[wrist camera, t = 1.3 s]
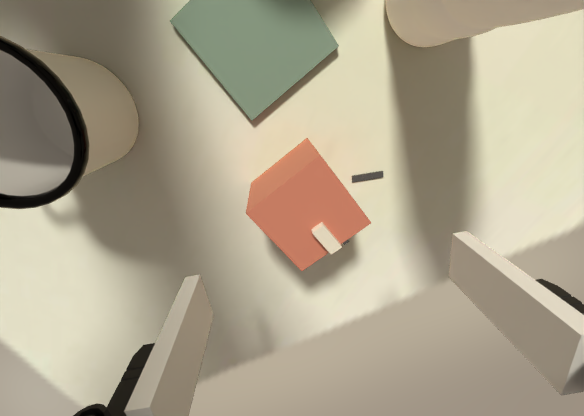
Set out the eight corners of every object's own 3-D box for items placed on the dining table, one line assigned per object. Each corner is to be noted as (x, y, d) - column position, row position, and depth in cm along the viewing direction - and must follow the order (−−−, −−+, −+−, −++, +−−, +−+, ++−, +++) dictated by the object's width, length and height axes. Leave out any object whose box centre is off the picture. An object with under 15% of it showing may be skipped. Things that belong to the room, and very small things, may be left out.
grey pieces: (276, 185, 27) (278, 200, 23) (352, 125, 25) (366, 132, 22) (334, 251, 30) (343, 273, 27) (404, 202, 29) (423, 219, 25)
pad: (172, 22, 21) (169, 20, 21) (264, -71, 20) (263, -75, 19) (252, 120, 25) (251, 120, 24) (337, 47, 23) (338, 46, 22)
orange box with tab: (251, 182, 27) (245, 216, 20) (307, 137, 26) (321, 157, 19) (294, 230, 29) (302, 275, 22) (347, 191, 28) (374, 226, 21)
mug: (101, 27, 21) (-7, -12, 13) (168, 145, 25) (118, 174, 17) (-34, 90, 22) (-215, 93, 14) (50, 195, 26) (-53, 247, 18)
